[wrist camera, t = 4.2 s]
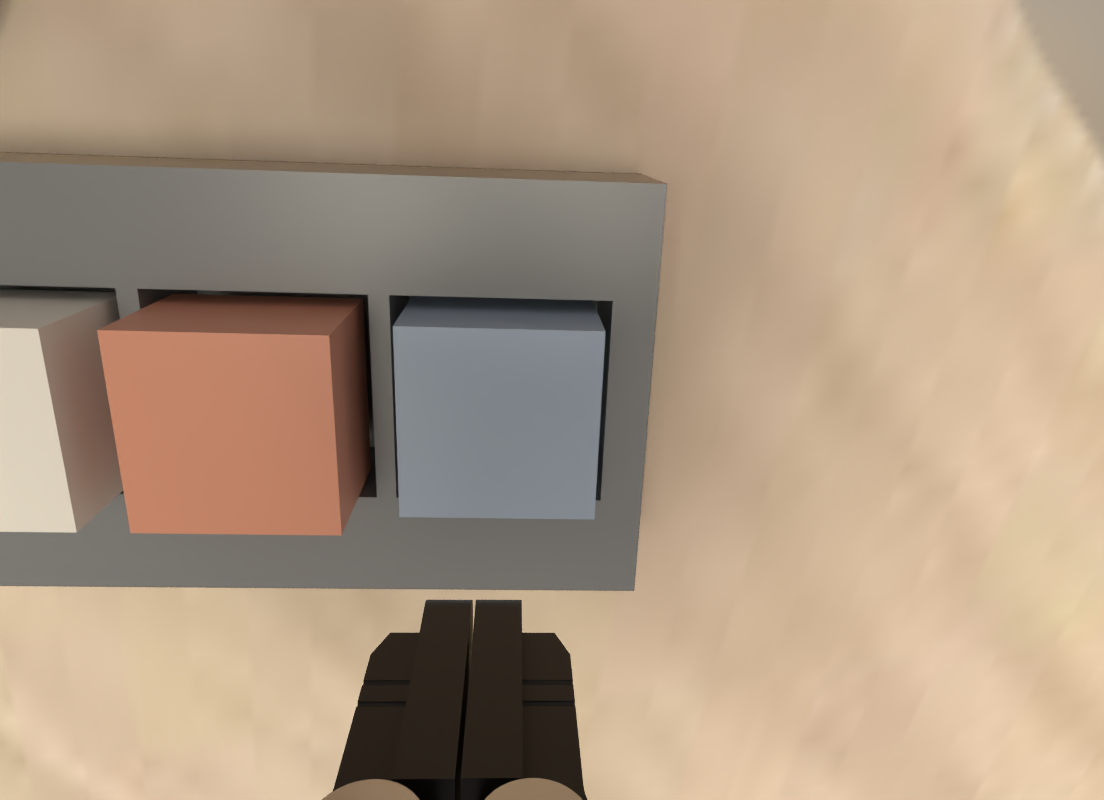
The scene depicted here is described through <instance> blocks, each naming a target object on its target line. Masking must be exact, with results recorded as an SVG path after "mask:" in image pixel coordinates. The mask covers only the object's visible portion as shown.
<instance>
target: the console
mask: <svg viewBox="0 0 1104 800" xmlns="http://www.w3.org/2000/svg"><path fill="white" fill-rule="evenodd" d="M666 192H667V184H666V183H663V182H661V181H658V180H655V179H653V178H650V177H647V176H645V175H642V174H631V173H601V172H572V171H542V170H513V169H483V168H454V167H424V166H395V165H365V164H336V163H307V162H277V161H248V160H218V159H189V158H159V157H130V156H100V155H71V154H42V153H12V152H0V289H9V290H48V291H87V292H116V297H117V303H118V310H119V316H120V319H121V318H123V317H126V316H128V315H130V314H132V313H134V312H136V311H138V310H140V309H142V308H144V307H146V306H149V305H151V304H153V303H155V302H157V301H159V300H161V299H163V298H165V297H167V296H169V295H172V294H204V295H243V296H282V297H321V298H360V299H363V308H364V329H365V351H366V372H367V393H368V414H369V436H370V457H371V470H370V472H369V474H368V476H367V479H366V481H365V483H364V486H363V488H362V490H361V492H360V495H359V497H358V499H357V502H356V504H355V506H354V508H353V511H352V513H351V515H350V518H349V520H348V522H347V524H346V527H345V529H344V531H343V534H342V536H339V535H248V534H157V533H130V527H129V521H128V515H127V509H126V503H125V497H124V491H122V492H121V493H120V494H119V495H117V496H116V497H115V498H114V499H113V500H112V501H111V502H110V503H109V504H108V505H107V506H105V507H104V508H103V509H102V510H101V511H100V512H99V513H98V514H97V515H96V516H94V517H93V518H92V519H91V520H90V521H89V522H88V523H87V524H86V525H85V526H84V527H82V528H81V529H80V530H79V531H78V532H77V533H65V532H0V586H77V587H207V588H338V589H468V590H598V591H634V587H635V575H636V562H637V550H638V538H639V525H640V513H641V500H642V488H643V476H644V463H645V451H646V439H647V426H648V414H649V402H650V389H651V377H652V365H653V352H654V340H655V328H656V315H657V303H658V290H659V278H660V266H661V253H662V241H663V229H664V216H665V204H666ZM412 296H441V297H480V298H519V299H557V300H593V303H594V305H595V307H596V310H597V312H598V315H599V317H600V319H601V322H602V324H603V327H604V329H605V331H606V332H605V349H604V366H603V383H602V400H601V417H600V434H599V451H598V468H597V485H596V502H595V519H513V518H430V517H399V490H398V461H397V432H396V403H395V374H394V346H393V325H394V324H395V322H396V321H397V319H398V317H399V316H400V314H401V313H402V311H403V310H404V308H405V307H406V305H407V303H408V302H409V300H410V299H411V297H412Z"/></svg>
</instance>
